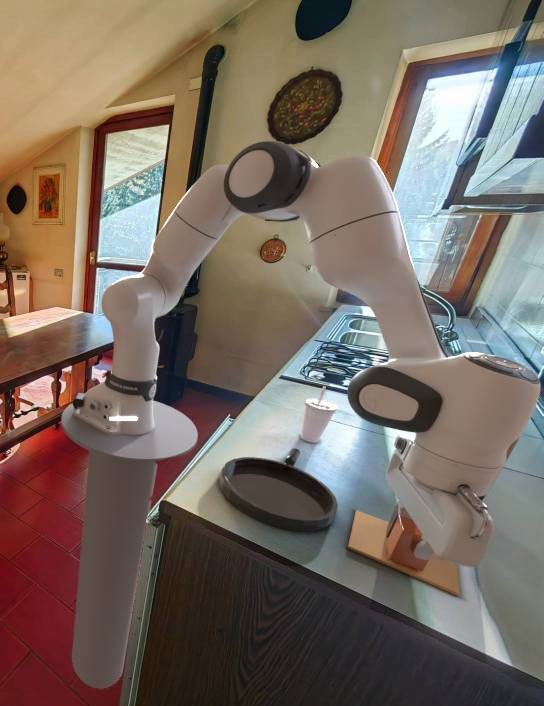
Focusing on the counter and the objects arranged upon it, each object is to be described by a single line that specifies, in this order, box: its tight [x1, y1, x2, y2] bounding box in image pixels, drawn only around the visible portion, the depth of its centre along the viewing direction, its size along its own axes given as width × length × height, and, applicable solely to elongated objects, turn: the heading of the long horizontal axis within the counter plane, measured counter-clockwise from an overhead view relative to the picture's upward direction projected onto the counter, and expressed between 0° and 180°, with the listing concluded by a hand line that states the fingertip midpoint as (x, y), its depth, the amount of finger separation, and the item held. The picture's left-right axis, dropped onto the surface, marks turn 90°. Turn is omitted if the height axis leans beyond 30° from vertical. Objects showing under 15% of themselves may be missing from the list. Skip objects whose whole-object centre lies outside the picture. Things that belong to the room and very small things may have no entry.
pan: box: [218, 456, 339, 533], centre depth 76 cm, size 19×19×2 cm
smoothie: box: [300, 386, 338, 444], centre depth 94 cm, size 6×6×14 cm
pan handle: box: [283, 447, 301, 471], centre depth 85 cm, size 2×10×2 cm, turn 137°
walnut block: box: [386, 499, 400, 538], centre depth 65 cm, size 4×4×6 cm
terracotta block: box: [386, 515, 429, 571], centre depth 61 cm, size 4×4×6 cm
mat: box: [347, 509, 460, 597], centre depth 64 cm, size 13×12×1 cm
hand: (410, 542), depth 61 cm, fingers closed on terracotta block, 4 cm apart
